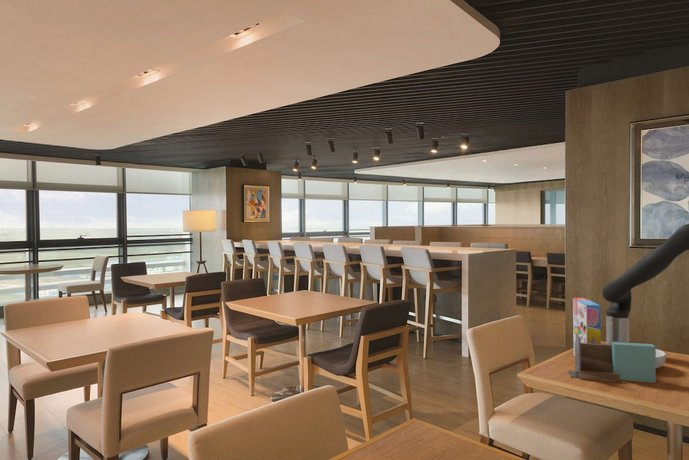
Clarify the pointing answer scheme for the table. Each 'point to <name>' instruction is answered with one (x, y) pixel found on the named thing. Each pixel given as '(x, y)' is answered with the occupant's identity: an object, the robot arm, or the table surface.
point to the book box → (634, 361)
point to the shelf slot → (596, 362)
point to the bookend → (577, 358)
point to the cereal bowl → (660, 358)
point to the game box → (586, 321)
